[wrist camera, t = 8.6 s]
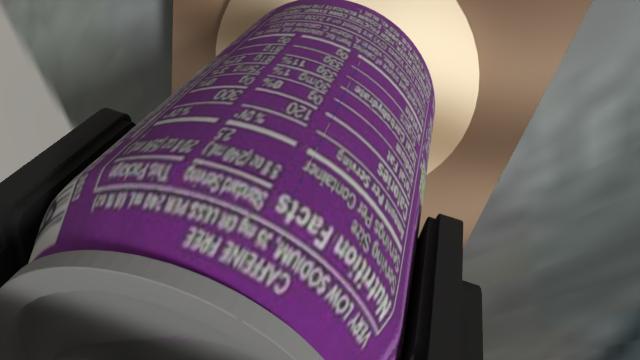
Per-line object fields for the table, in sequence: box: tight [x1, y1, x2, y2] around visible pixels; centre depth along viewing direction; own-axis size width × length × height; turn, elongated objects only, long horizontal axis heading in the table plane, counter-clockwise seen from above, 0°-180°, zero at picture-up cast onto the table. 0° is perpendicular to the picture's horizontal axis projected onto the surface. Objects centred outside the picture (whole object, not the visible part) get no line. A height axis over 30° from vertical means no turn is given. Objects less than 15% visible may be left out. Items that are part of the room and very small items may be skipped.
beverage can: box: [0, 0, 435, 360], centre depth 13 cm, size 7×7×12 cm
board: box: [171, 0, 593, 247], centre depth 19 cm, size 16×14×2 cm
